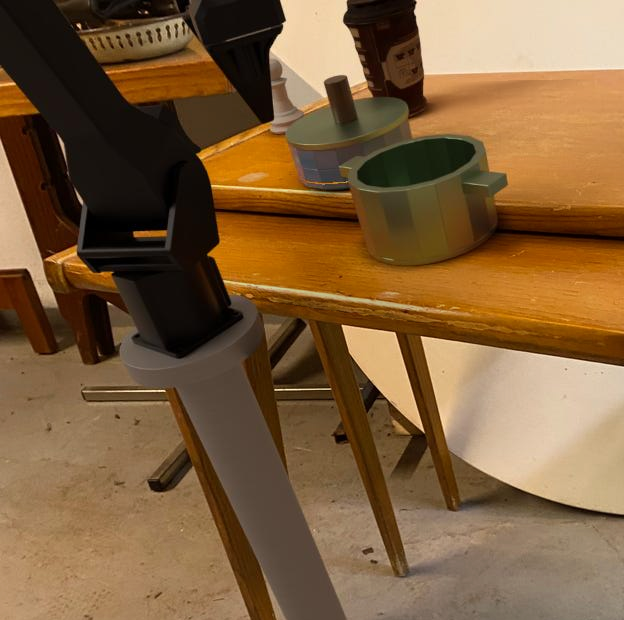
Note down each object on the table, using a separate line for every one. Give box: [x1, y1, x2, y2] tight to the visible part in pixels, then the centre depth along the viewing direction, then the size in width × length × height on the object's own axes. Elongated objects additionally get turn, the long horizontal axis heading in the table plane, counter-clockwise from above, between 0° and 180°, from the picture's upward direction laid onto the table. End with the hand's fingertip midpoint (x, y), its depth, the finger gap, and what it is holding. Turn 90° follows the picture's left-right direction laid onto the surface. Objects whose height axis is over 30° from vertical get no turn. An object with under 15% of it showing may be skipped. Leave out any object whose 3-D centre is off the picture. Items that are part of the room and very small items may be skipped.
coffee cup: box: [342, 0, 428, 118], centre depth 104 cm, size 9×8×13 cm
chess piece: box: [268, 58, 305, 135], centre depth 109 cm, size 5×5×8 cm
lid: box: [284, 74, 409, 150], centre depth 92 cm, size 13×13×5 cm
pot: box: [339, 133, 509, 267], centre depth 78 cm, size 12×17×6 cm
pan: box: [287, 117, 414, 191], centre depth 94 cm, size 12×12×4 cm
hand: (257, 108), depth 76 cm, fingers open, 9 cm apart
